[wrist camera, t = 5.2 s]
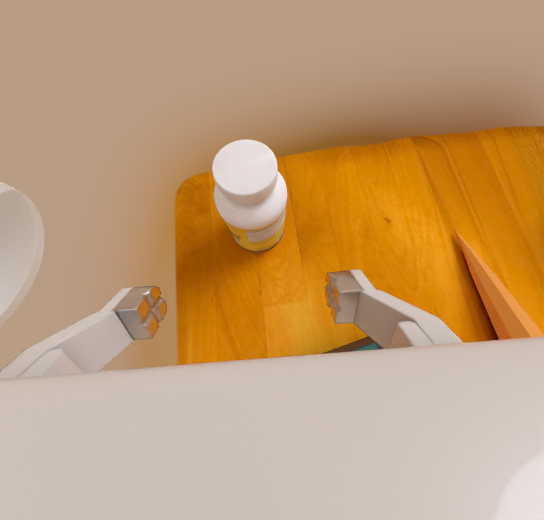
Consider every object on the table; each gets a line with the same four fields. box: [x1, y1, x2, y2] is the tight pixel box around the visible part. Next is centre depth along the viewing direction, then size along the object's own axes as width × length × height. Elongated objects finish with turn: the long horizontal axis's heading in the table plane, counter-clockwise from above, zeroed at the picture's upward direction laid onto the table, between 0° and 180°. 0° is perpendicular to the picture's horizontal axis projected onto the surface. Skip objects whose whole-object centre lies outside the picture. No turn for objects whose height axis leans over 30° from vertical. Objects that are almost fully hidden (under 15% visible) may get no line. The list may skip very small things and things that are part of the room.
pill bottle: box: [212, 140, 287, 252], centre depth 20 cm, size 6×6×12 cm
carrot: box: [455, 230, 544, 340], centre depth 21 cm, size 20×4×4 cm, turn 12°
